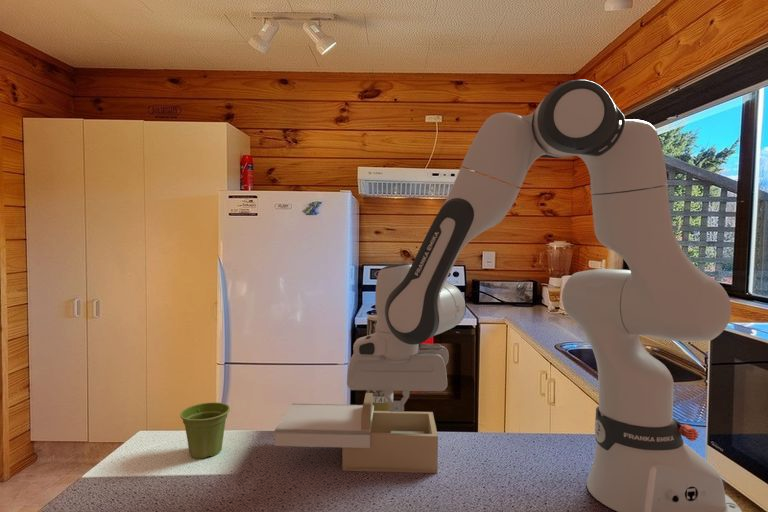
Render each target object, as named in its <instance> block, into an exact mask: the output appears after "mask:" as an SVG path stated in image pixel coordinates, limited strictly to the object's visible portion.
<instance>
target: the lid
mask: <svg viewBox="0 0 768 512" xmlns="http://www.w3.org/2000/svg"><path fill="white" fill-rule="evenodd" d="M373 411H374V405H373V393H367V392H365V394H364V400H363V404H333V403H332V404H330V403H291V404H290V406H289V408H288V409H287V410H286V412H285V414H284V415H283V417H282V418H281V419H280V422H279V423H278V424H277V426H276V427H275V429H274V446H275V447H308V448H309V447H311V448H313V447H314V448H317V447H319V448H343V447H349V448H370V432H371V425H372V418H373Z"/></svg>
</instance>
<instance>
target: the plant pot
mask: <svg viewBox="0 0 768 512" xmlns="http://www.w3.org/2000/svg"><path fill="white" fill-rule="evenodd" d="M230 410H231V407H230V405H228V404H227V403H223V402H213V401H211V402H204V403H203V402H202V403H199V404H195V405H194V404H193V405H192V406H188V407H186V408H185V409H183V410H182V411H181V412H180V413H179V415H180V419H182V423H183V425H184V429H185V434H186V439H187V446H188V452H189V455H190V457H191V458H194V459H200V460H201V459H206V458H207V457H213V456H214V457H215V456H216V455H218V454H219V453H221V452H222V448H223V442H224V441H223V440H224V434H225V433H224V432H225V426H226V419H227V418H228V415H229V414H228V413H229V412H230Z"/></svg>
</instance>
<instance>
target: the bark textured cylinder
mask: <svg viewBox="0 0 768 512" xmlns="http://www.w3.org/2000/svg"><path fill="white" fill-rule="evenodd" d="M366 320H367V321H366V336H368V335H371V334H374V333H375V327H376V323H377V313H376V314H370V315H367V318H366ZM366 393H373V405H374V411H390V404H389V403H388V401H387V399H386V398H385V396H384V390H366ZM391 398H392V400H393V401H394V391H391Z"/></svg>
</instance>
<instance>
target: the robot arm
mask: <svg viewBox="0 0 768 512" xmlns="http://www.w3.org/2000/svg"><path fill="white" fill-rule="evenodd" d="M481 125H482V126H481V127H480V128H479V130H478V131H477V133H476V135H475V137H474V139H473V141H472V142H471V144H470V146H469V148H468V150H467V152H466V154H465V157H464V158H463V161H462V163H461V166H460V168H459V170H458V173H457V175H456V178H455V180H454V182H453V185H452V187H451V189H450V191H449V193H448V195H447V196H446V197H447V198H446V199H445V200H444V203H443V205H442V206H441V208H440V209H439V211H438V213H437V215H436V216H435V218H434V220H433V221H432V223H431V225H430V227H429V229H428V231H427V232H426V236H424V240H423V241H422V244H421V245H420V248H419V250H418V251H417V253H416V255H415V257H414V260H413V261H412V262H411V263H410V262H409V263H408V262H406V263H396V264H390V265H387V266H384V267H383V268H382V267H381V269H380V270H379V271H378V275H377V278H376V284H375V296H374V297H375V299H374V300H375V301H374V302H375V303H374V305H375V312H376V314H377V323H376V327H375V333H374V334H371V335H368V336H367V335H365V336H362V337H359V338H357V339H356V340H355V342H354V343H353V346H352V347H353V348H352V350H353V351H352V352H353V354H352V356H351V358H350V360H349V363H348V367H347V368H348V369H347V374H346V378H347V379H346V386H347V387H348V388H349V390H351V391H367V390H384V396H385V398H386V399H387V401H388V403H389V404H390V412H401V411H402V412H405V404H406V403H407V401H408V399H409V398H410V392H444V391H445V390H446V388H448V377H447V367H446V366H447V364H448V363H449V359H450V358H449V350H448V349H447V348H446V347H445V346H443V345H442V344H440V343H433V344H432V343H424V342H426V341H427V340H429V339H431V338H432V337H434V336H437V335H440V334H442V333H444V332H446V331H448V330H451V329H453V328H455V327H456V326H458V325H459V324H461V322H462V321H463V320H464V317H465V314H466V312H467V304H466V299H465V297H464V295H463V293H462V291H461V290H460V288H459V287H457V286H456V285H455V284H452V283H450V282H447V279H448V277H449V276H450V274H451V272H452V270H453V268H454V266H455V264H456V261H457V259H458V257H459V255H460V254H461V252H462V250H463V249H464V248H465V247H466V246H467V244H469V243H470V242H471V241H472V240H474V239H475V238H476V237H478V236H479V235H480V234H482V233H484V232H486V231H487V230H489V229H491V228H493V227H495V226H498V225H499V224H501V223H502V221H503V220H504V219H505V217H506V215H507V214H508V213H509V211H510V210H511V208H512V207H513V205H514V204H515V201H516V199H517V198H518V195H519V193H520V190H521V188H522V186H523V184H524V181H525V179H526V175H528V172H529V170H530V168H531V167H532V166H533V164H534V163H535V161H536V160H537V159H539V158H546V159H547V158H549V159H564V158H565V159H566V158H572V157H575V156H577V157H578V158H580V159H581V160H582V161H583V162H584V164H585V165H586V168H587V171H588V174H589V178H590V180H589V181H590V196H591V208H592V219H593V229H594V235H595V237H596V239H597V241H598V242H599V243H600V244H601V245H602V246H604V248H606V249H609V250H610V251H613V252H614V253H616V254H617V255H619V256H620V257H621V258H622V259H623V260H624V262H625V263H626V265H627V267H628V269H616V268H615V269H614V268H596V269H587V270H583V271H577V272H574V273H573V274H571V275H570V276H569V278H568V279H567V280H566V282H565V284H564V286H563V289H562V294H561V302H562V305H563V309H564V311H565V313H566V314H567V316H568V317H569V318H570V319H571V320H572V321H573V322H574V323H575V324H576V325H577V326H578V327H579V328H580V330H581V331H582V333H584V335H585V337H586V339H587V340H588V341H587V342H588V343H589V344H590V347H591V349H592V351H593V355H594V358H595V361H596V369H597V377H598V378H597V379H598V383H597V384H598V406H597V407H596V408H595V420H594V435H595V437H594V438H595V439H594V440H595V441H596V443H595V449H594V450H595V451H594V457H593V462H592V466H591V471H590V473H589V476H588V478H587V481H586V487H587V490H588V492H589V493H590V494H591V496H592V497H593V498H594V499H595V500H596V501H599V503H600V504H602V505H605V506H606V507H608V508H609V509H611V510H614V511H616V512H743V511H742V509H741V508H740V506H739V505H738V504H737V503H736V502H735V501H734V500H733V499H732V497H730V496H729V495H727V494H726V492H725V486H724V483H723V480H722V477H721V475H720V473H719V472H718V470H717V469H716V468H715V467H714V466H713V465H712V464H711V463H709V461H708V460H706V459H705V458H704V457H703V456H702V455H700V454H699V453H698V452H696V451H695V450H694V449H693V448H692V447H690V446H689V445H688V444H687V443H686V442H685V441H684V439H683V437H684V438H686V439H687V440H688V441H690V442H693V441H694V442H695V441H696V440H697V439H699V432H698V431H697V429H696V428H693V427H691V426H690V425H689V424H682V423H681V422H680V421H679V420H677V419H676V418H674V417H673V415H674V413H673V412H674V386H675V385H674V379H673V375H672V373H671V372H670V370H669V369H668V368H667V366H666V365H665V364H664V363H663V362H661V361H660V360H659V359H657V358H656V357H654V356H653V355H651V354H650V353H649V352H648V350H647V349H646V347H645V346H644V345H643V344H642V342H641V339H640V336H642V337H643V336H644V337H650V338H653V339H654V338H655V339H660V340H661V339H662V340H667V341H674V342H708V341H709V342H710V341H712V340H714V339H715V338H717V337H719V336H720V335H721V334H722V333H723V332H724V331H725V330H726V328H727V327H728V326H729V323H730V320H731V317H732V304H731V303H732V302H731V299H730V297H729V295H728V293H727V291H726V290H725V288H724V287H723V285H721V284H720V283H719V282H718V280H716V279H715V278H713V277H711V276H709V275H708V274H707V273H705V272H704V271H702V270H701V269H699V267H697V266H696V264H694V263H693V262H692V261H691V259H690V258H689V257H688V256H687V255H686V252H684V250H683V249H682V247H681V245H680V244H679V242H678V239H677V238H676V235H675V232H674V228H673V223H672V222H673V221H672V216H671V214H672V213H671V209H670V208H671V207H670V200H669V199H670V198H669V188H668V186H669V185H668V175H667V169H666V168H667V167H666V161H665V156H664V152H663V148H662V143H661V139H660V138H659V134H658V132H657V129H656V128H655V126H654V125H653V124H651V123H650V122H648V121H645V120H641V119H635V118H633V119H630V118H629V119H626V117H625V115H624V113H623V112H622V111H621V110H620V108H619V107H618V106H617V105H616V104H615V102H614V100H613V99H612V97H611V96H610V94H609V92H607V90H606V89H604V88H603V87H602V86H601V85H600V84H598V83H597V82H594V81H591V80H587V79H573V80H569V81H565V82H563V83H560V84H559V85H556V87H554V88H553V89H551V90H550V91H549V92H548V93H547V94H546V95H545V97H544V98H542V101H541V102H539V103H538V106H537V107H536V109H535V110H534V111H533V112H532V113H530V114H528V115H527V114H526V115H519V114H516V113H512V112H499V113H498V112H497V113H495V114H492V115H490V116H489V117H487V118H486V119H485V121H484V122H483V123H482V124H481ZM391 391H393V392H394V391H396V392H398V391H399V392H401V391H402V396H403V397H402V398H401V399H400V400H394V399H393V400H392V398H391Z"/></svg>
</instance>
